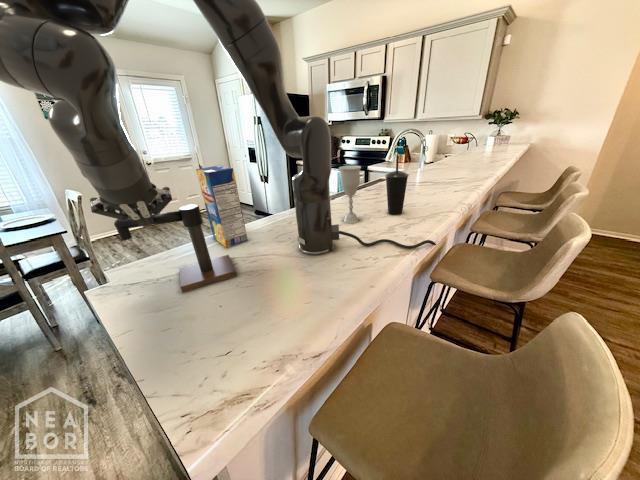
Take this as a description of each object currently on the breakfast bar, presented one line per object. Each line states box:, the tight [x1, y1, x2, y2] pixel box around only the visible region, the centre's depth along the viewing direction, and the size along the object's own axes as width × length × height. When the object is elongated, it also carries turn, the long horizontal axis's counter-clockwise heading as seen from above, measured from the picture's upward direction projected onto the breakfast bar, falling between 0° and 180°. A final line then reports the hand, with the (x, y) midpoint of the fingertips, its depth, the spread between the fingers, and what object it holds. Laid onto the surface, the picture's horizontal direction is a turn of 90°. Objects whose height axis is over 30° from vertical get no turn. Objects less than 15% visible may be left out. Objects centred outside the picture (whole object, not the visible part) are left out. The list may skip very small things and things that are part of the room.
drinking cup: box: [384, 154, 410, 216], centre depth 90 cm, size 8×8×20 cm
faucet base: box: [179, 224, 238, 293], centre depth 62 cm, size 12×10×13 cm
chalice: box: [338, 165, 362, 224], centre depth 87 cm, size 7×7×18 cm
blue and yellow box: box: [195, 165, 249, 248], centre depth 79 cm, size 7×11×22 cm, turn 40°
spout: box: [113, 204, 204, 241], centre depth 57 cm, size 17×4×5 cm, turn 103°
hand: (146, 222), depth 55 cm, fingers closed
